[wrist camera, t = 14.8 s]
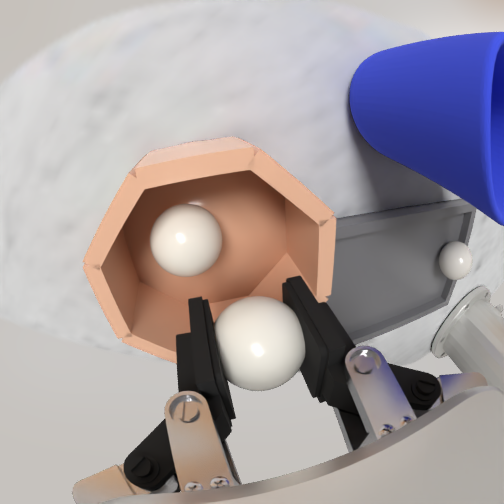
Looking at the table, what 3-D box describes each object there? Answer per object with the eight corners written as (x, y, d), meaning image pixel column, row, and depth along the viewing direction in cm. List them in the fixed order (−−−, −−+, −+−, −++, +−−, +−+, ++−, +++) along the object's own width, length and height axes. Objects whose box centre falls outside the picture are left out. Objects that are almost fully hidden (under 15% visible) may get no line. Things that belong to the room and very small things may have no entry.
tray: (468, 197, 19) (477, 202, 18) (441, 298, 25) (447, 304, 24) (313, 222, 17) (321, 230, 16) (308, 349, 23) (312, 358, 22)
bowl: (290, 129, 14) (336, 140, 9) (296, 288, 19) (325, 338, 15) (95, 164, 12) (56, 191, 8) (146, 318, 17) (141, 377, 13)
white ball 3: (457, 231, 21) (483, 249, 18) (449, 263, 22) (472, 281, 19) (436, 237, 20) (463, 257, 17) (428, 271, 22) (451, 292, 19)
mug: (416, 213, 19) (513, 281, 10) (305, 111, 13) (458, 135, 5) (460, 135, 16) (559, 175, 8) (369, 20, 11) (505, -1, 2)
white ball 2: (288, 268, 10) (326, 332, 7) (289, 331, 12) (317, 392, 9) (196, 287, 10) (205, 361, 7) (213, 349, 12) (226, 416, 9)
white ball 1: (214, 188, 14) (220, 213, 11) (223, 248, 16) (231, 284, 13) (147, 201, 13) (135, 229, 10) (162, 259, 15) (157, 297, 12)
